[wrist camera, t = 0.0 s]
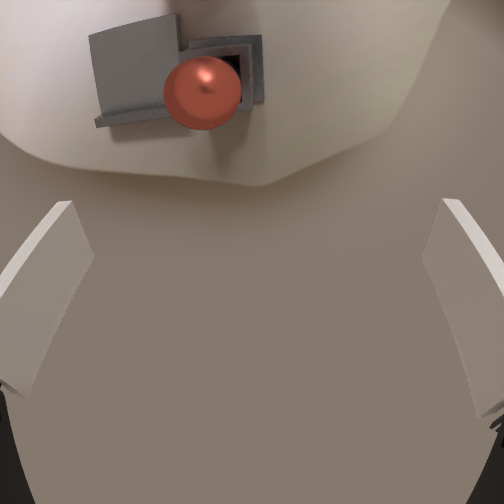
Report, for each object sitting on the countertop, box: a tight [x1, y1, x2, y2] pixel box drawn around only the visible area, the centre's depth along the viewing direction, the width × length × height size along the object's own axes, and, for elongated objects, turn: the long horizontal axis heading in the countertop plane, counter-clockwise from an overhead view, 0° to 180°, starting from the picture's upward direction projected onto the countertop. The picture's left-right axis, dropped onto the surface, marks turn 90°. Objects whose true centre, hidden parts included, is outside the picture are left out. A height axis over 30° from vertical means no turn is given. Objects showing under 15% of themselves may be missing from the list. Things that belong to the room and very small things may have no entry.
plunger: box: [163, 56, 242, 130], centre depth 24 cm, size 6×6×9 cm
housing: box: [178, 35, 264, 111], centre depth 28 cm, size 8×8×8 cm
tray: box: [89, 14, 181, 128], centre depth 29 cm, size 12×11×3 cm
